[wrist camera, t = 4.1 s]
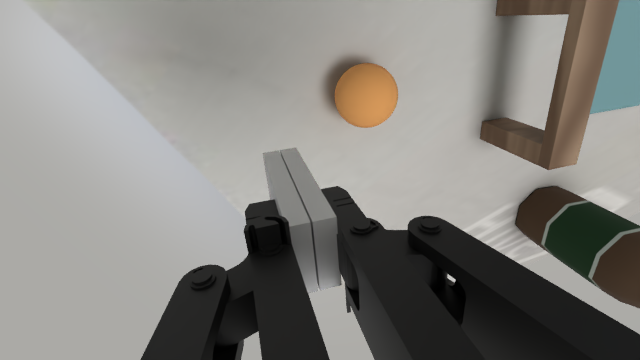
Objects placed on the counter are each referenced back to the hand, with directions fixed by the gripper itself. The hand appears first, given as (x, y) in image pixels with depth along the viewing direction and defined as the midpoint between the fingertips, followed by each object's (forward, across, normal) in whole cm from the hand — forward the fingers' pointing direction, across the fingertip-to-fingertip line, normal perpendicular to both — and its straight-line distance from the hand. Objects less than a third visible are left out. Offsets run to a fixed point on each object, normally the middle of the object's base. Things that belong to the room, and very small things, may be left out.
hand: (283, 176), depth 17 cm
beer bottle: (+17, +34, -19) cm, 43 cm away
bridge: (+16, +26, 0) cm, 30 cm away
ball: (+14, +10, 0) cm, 17 cm away
